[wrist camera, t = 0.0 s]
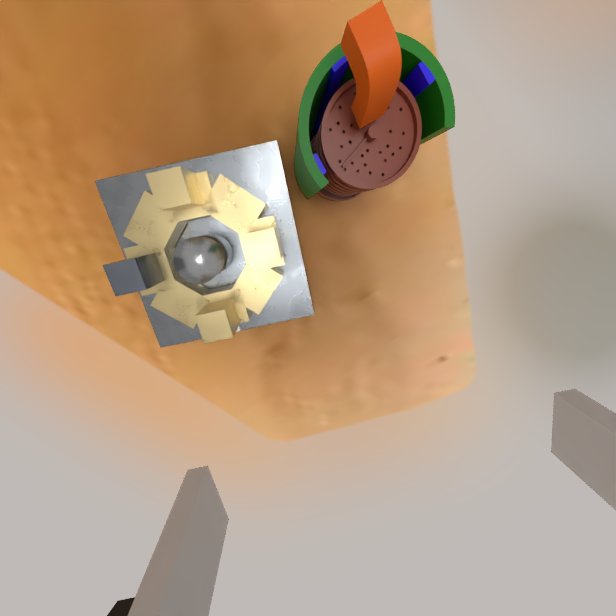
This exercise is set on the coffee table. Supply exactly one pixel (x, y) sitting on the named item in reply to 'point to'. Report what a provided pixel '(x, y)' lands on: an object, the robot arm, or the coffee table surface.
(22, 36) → the coffee table surface
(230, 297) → the ring nut
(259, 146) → the flange plate
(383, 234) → the coffee table surface
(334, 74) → the motor
